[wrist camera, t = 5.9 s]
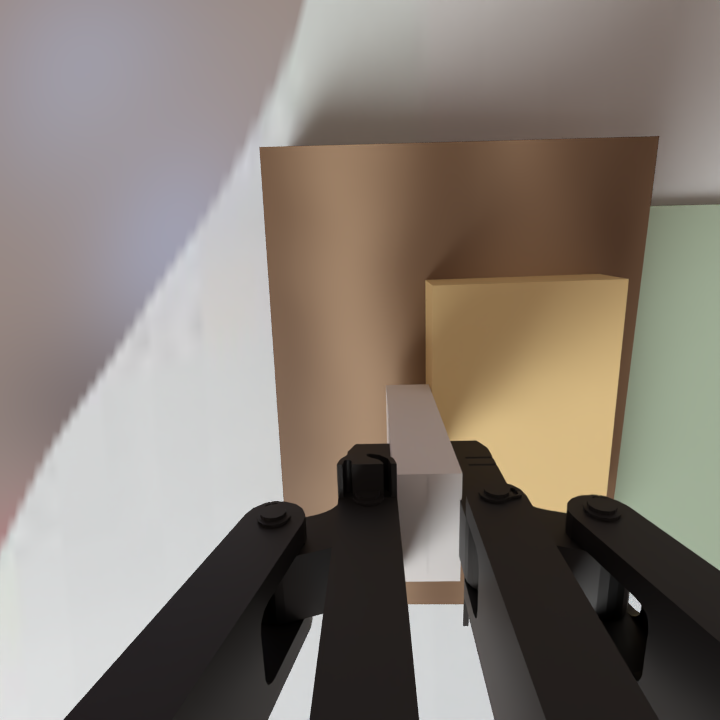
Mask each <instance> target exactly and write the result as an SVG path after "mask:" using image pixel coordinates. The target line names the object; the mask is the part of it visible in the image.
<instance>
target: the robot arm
mask: <svg viewBox="0 0 720 720" xmlns="http://www.w3.org/2000/svg"><path fill="white" fill-rule="evenodd" d="M386 415H387V443H385V444H355V445H354V446H353V447H352V448H351V449H350V450H349V451H348V453H347V455H346V456H344V457H343V458H341V459H340V460H339V461H338V463H337V483H338V504H337V505H336V506H335V507H334V508H332V509H331V510H328V511H326V512H324V513H321V514H317V515H313V516H308V517H305V513H304V510H303V508H301V507H300V506H298V505H297V504H294V503H290V502H279V501H274V502H268V503H264V504H262V505H260V506H257V507H255V508H253V509H252V510H250V511H249V512H248V513H247V514H245V516H244V517H243V518H242V519H241V520H240V521H239V522H238V523H237V525H236V526H235V527H234V528H233V529H232V530H231V531H230V532H229V534H228V535H227V536H226V537H225V538H224V539H223V540H222V541H221V543H220V544H219V545H218V546H217V547H216V548H215V549H214V550H213V552H212V553H211V554H210V555H209V556H208V557H207V558H206V560H205V561H204V562H203V563H202V564H201V565H200V566H199V567H198V569H197V570H196V571H195V572H194V573H193V574H192V575H191V576H190V578H189V579H188V580H187V581H186V582H185V583H184V584H183V585H182V587H181V588H180V589H179V590H178V591H177V592H176V593H175V594H174V596H173V597H172V598H171V599H170V600H169V601H168V602H167V604H166V605H165V606H164V607H163V608H162V609H161V610H160V611H159V613H158V614H157V615H156V616H155V617H154V618H153V619H152V620H151V622H150V623H149V624H148V625H147V626H146V627H145V628H144V629H143V631H142V632H141V633H140V634H139V635H138V636H137V637H136V638H135V640H134V641H133V642H132V643H131V644H130V645H129V646H128V648H127V649H126V650H125V651H124V652H123V653H122V654H121V655H120V657H119V658H118V659H117V660H116V661H115V662H114V663H113V664H112V666H111V667H110V668H109V669H108V670H107V671H106V672H105V673H104V675H103V676H102V677H101V678H100V679H99V680H98V681H97V682H96V684H95V685H94V686H93V687H92V688H91V689H90V690H89V692H88V693H87V694H86V695H85V696H84V697H83V698H82V699H81V701H80V702H79V703H78V704H77V705H76V706H75V707H74V708H73V710H72V711H71V712H70V713H69V714H68V715H67V716H66V717H65V719H64V720H268V718H269V716H270V714H271V712H272V710H273V707H274V705H275V703H276V701H277V699H278V697H279V695H280V692H281V690H282V688H283V686H284V684H285V682H286V680H287V677H288V675H289V673H290V671H291V669H292V667H293V664H294V662H295V660H296V658H297V656H298V654H299V652H300V649H301V647H302V645H303V643H304V641H305V639H306V637H307V634H308V632H309V630H310V628H311V623H312V616H316V615H319V614H323V620H322V628H321V636H320V643H319V651H318V659H317V667H316V674H315V682H314V690H313V698H312V705H311V713H310V720H419V715H418V704H417V694H416V684H415V674H414V664H413V653H412V643H411V633H410V623H409V612H408V602H407V592H406V582H426V581H460V568H461V566H462V569H463V573H464V612H463V626H468V622H469V619H470V623H471V627H472V631H473V635H474V639H475V643H476V647H477V651H478V655H479V659H480V663H481V667H482V671H483V675H484V679H485V683H486V688H487V692H488V696H489V700H490V704H491V708H492V712H493V716H494V720H720V570H718V569H717V568H715V567H714V566H713V565H711V564H710V563H708V562H707V561H706V560H704V559H703V558H701V557H700V556H698V555H697V554H696V553H694V552H693V551H691V550H690V549H689V548H687V547H686V546H684V545H683V544H681V543H680V542H679V541H677V540H676V539H674V538H673V537H672V536H670V535H669V534H667V533H666V532H664V531H663V530H662V529H660V528H659V527H657V526H656V525H655V524H653V523H652V522H650V521H649V520H647V519H646V518H645V517H643V516H642V515H640V514H639V513H638V512H636V511H635V510H633V509H632V508H630V507H629V506H627V505H625V504H623V503H622V502H620V501H617V500H614V499H611V498H609V497H607V496H602V495H600V496H598V495H594V494H591V495H580V496H577V497H574V498H571V499H570V500H569V501H568V503H567V511H566V513H563V512H557V511H551V510H546V509H541V508H537V507H534V506H533V505H532V504H531V502H530V500H529V499H528V497H527V495H526V494H525V493H524V492H523V491H522V490H521V489H519V488H517V487H515V486H513V485H511V484H507V482H506V481H505V479H504V477H503V475H502V473H501V471H500V470H499V468H498V466H497V465H496V462H495V460H494V459H493V458H492V455H491V453H490V451H489V449H488V448H487V447H486V446H484V445H483V444H481V443H480V442H478V441H476V440H471V441H450V439H449V437H448V434H447V431H446V429H445V426H444V423H443V421H442V418H441V416H440V413H439V410H438V408H437V405H436V402H435V400H434V397H433V394H432V392H431V389H430V387H429V384H416V385H386ZM629 592H630V593H631V594H632V595H633V596H634V597H635V598H636V599H637V600H638V601H639V602H640V604H641V605H642V607H641V611H640V613H639V612H638V611H636V610H635V609H634V608H633V607H632V606H631V605H630V604H629V603H628V600H629Z"/></svg>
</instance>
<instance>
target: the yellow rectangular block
mask: <svg viewBox="0 0 720 720" xmlns="http://www.w3.org/2000/svg"><path fill="white" fill-rule="evenodd" d="M628 282H629V279H626V278H620V277H614V276H608V275H602V274H582V275H553V276H524V277H495V278H467V279H438V280H425V300H426V384H429V387H430V389H431V392H432V394H433V397H434V400H435V402H436V405H437V408H438V410H439V413H440V416H441V418H442V421H443V423H444V426H445V429H446V431H447V434H448V437H449V439H450V441H471V440H476V441H478V442H480V443H481V444H483V445H484V446H486V447H487V448H488V449H489V451H490V453H491V455H492V458H493V459H494V460H495V462H496V465H497V466H498V468H499V470H500V471H501V473H502V475H503V477H504V479H505V481H506V482H507V484H511V485H513V486H515V487H517V488H519V489H521V490H522V491H523V492H524V493H525V494H526V495H527V497H528V499H529V500H530V502H531V504H532V505H533V506H534V507H537V508H541V509H546V510H551V511H557V512H563V513H566V511H567V503H568V501H569V500H570V499H571V498H574V497H577V496H580V495H591V494H594V495H598V496H600V495H602V496H607V486H608V477H609V467H610V457H611V448H612V438H613V428H614V418H615V409H616V399H617V389H618V380H619V370H620V360H621V350H622V341H623V331H624V321H625V312H626V302H627V292H628Z"/></svg>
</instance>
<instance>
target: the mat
mask: <svg viewBox="0 0 720 720" xmlns="http://www.w3.org/2000/svg"><path fill="white" fill-rule="evenodd" d="M614 500H617V501H620V502H622V503H623V504H625V505H627V506H629V507H630V508H632V509H633V510H635V511H636V512H638V513H639V514H640V515H642V516H643V517H645V518H646V519H647V520H649V521H650V522H652V523H653V524H655V525H656V526H657V527H659V528H660V529H662V530H663V531H664V532H666V533H667V534H669V535H670V536H672V537H673V538H674V539H676V540H677V541H679V542H680V543H681V544H683V545H684V546H686V547H687V548H689V549H690V550H691V551H693V552H694V553H696V554H697V555H698V556H700V557H701V558H703V559H704V560H706V561H707V562H708V563H710V564H711V565H713V566H714V567H715V568H717V569H718V570H720V204H716V205H673V206H650V214H649V222H648V230H647V238H646V246H645V254H644V262H643V270H642V278H641V286H640V294H639V302H638V310H637V318H636V326H635V334H634V342H633V350H632V358H631V366H630V374H629V382H628V390H627V398H626V406H625V414H624V422H623V431H622V439H621V447H620V455H619V463H618V471H617V479H616V487H615V495H614Z"/></svg>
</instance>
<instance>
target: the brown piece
mask: <svg viewBox="0 0 720 720" xmlns="http://www.w3.org/2000/svg"><path fill="white" fill-rule="evenodd" d="M658 141H659V136H650V137H614V138H577V139H541V140H504V141H468V142H431V143H395V144H358V145H322V146H285V147H260V161H261V176H262V191H263V205H264V220H265V234H266V249H267V263H268V278H269V293H270V307H271V322H272V336H273V351H274V365H275V380H276V395H277V409H278V424H279V438H280V453H281V467H282V482H283V497H284V502H290V503H294V504H297V505H298V506H300V507H301V508H303V510H304V513H305V517H308V516H313V515H317V514H321V513H324V512H326V511H328V510H331V509H332V508H334V507H335V506H336V505H337V504H338V483H337V463H338V461H339V460H340V459H341V458H343V457H344V456H346V455H347V453H348V451H349V450H350V449H351V448H352V447H353V446H354V445H355V444H385V443H387V415H386V385H416V384H426V300H425V280H438V279H467V278H495V277H524V276H553V275H582V274H602V275H608V276H614V277H620V278H626V279H629V282H628V292H627V302H626V312H625V321H624V331H623V341H622V350H621V360H620V370H619V380H618V389H617V399H616V409H615V418H614V428H613V438H612V448H611V457H610V467H609V477H608V486H607V497H609V498H611V499H614V495H615V487H616V479H617V471H618V463H619V455H620V447H621V439H622V431H623V422H624V414H625V406H626V398H627V390H628V382H629V374H630V366H631V358H632V350H633V342H634V334H635V326H636V318H637V310H638V302H639V294H640V286H641V278H642V270H643V262H644V254H645V246H646V238H647V230H648V222H649V214H650V206H651V198H652V190H653V182H654V174H655V166H656V157H657V149H658ZM406 592H407V602H408V604H464V573H463V569H462V566H461V568H460V581H426V582H406Z"/></svg>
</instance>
